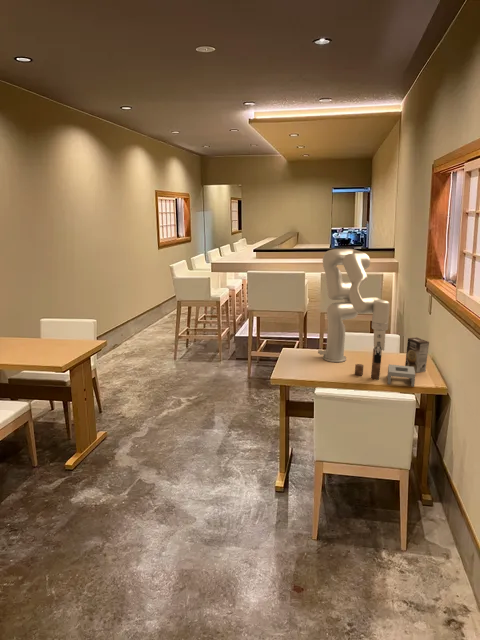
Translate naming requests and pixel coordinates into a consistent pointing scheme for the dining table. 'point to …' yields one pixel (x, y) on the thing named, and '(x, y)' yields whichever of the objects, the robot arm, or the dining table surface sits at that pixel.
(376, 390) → the dining table surface
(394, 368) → the bridge
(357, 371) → the short pin
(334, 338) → the robot arm
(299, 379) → the dining table surface
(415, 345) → the coffee box
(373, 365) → the long pin
